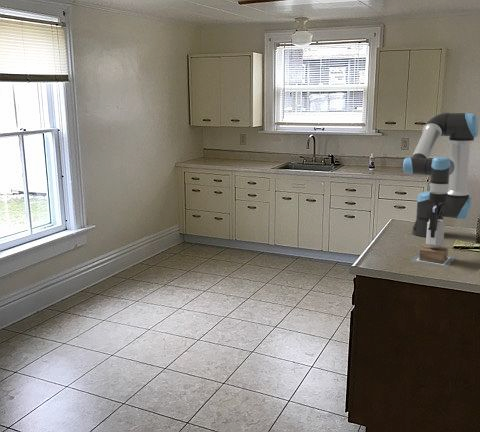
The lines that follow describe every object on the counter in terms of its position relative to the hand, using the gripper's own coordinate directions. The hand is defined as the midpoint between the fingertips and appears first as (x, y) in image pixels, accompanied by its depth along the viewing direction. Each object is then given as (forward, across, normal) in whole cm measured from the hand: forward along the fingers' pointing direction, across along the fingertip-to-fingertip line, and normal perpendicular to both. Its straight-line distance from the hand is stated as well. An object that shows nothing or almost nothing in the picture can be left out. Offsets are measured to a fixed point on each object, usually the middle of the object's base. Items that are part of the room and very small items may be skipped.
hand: (434, 241), depth 237 cm
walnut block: (+8, 0, 0) cm, 8 cm away
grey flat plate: (+9, 0, 0) cm, 9 cm away
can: (+2, 0, 0) cm, 2 cm away
